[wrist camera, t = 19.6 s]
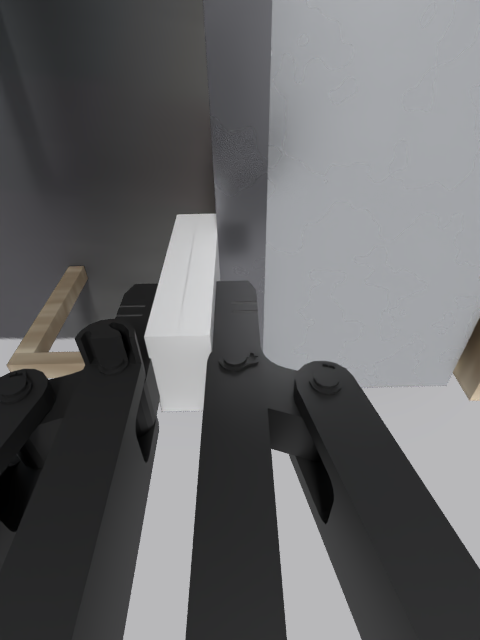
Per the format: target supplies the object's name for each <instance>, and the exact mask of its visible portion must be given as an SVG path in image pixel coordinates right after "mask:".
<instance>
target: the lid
mask: <svg viewBox="0 0 480 640" xmlns="http://www.w3.org/2000/svg"><path fill="white" fill-rule="evenodd" d="M203 8H204V24H205V41H206V57H207V73H208V89H209V106H210V122H211V138H212V154H213V171H214V187H215V203H216V219H217V234H218V251H219V267H220V281H249V282H250V283H251V284H252V285H253V287H254V288H255V289H256V295H257V307H258V319H259V332H260V344H261V349H262V352H263V353H264V355H265V356H266V357H267V358H268V359H269V360H270V361H271V362H273V363H275V364H277V365H279V366H282V367H285V368H289V369H293V370H297V371H298V370H299V369H300V368H301V367H302V366H303V365H305V364H307V363H310V362H313V361H329V362H334V363H337V364H339V365H341V366H342V367H344V368H346V369H347V370H348V371H349V372H350V373H351V374H352V375H353V376H354V378H355V379H356V381H357V383H358V384H359V386H360V387H361V388H373V387H417V386H418V387H419V386H446V385H447V383H448V381H449V379H450V377H451V375H452V373H453V371H454V369H455V367H456V365H457V363H458V361H459V359H460V357H461V355H462V353H463V351H464V349H465V347H466V345H467V342H468V340H469V338H470V336H471V334H472V332H473V330H474V328H475V326H476V324H477V322H478V320H479V318H480V0H203Z"/></svg>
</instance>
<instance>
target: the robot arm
mask: <svg viewBox="0 0 480 640" xmlns="http://www.w3.org/2000/svg"><path fill="white" fill-rule="evenodd" d="M75 341H76V343H77V346H78V348H79V351H80V353H81V356H82V358H83V361H84V363H85V366H84V369H83V370H81V371H78V372H75V373H72V374H69V375H65V376H61V377H58V378H54V379H50V380H48V378H47V377H46V376H45V374H44V373H43V372H42V371H39V370H36V369H21V370H17V371H13V372H10V373H8V374H6V375H4V376H2V377H0V640H123V635H124V630H125V623H126V618H127V612H128V606H129V601H130V595H131V589H132V583H133V577H134V572H135V566H136V560H137V554H138V548H139V543H140V537H141V531H142V525H143V519H144V514H145V508H146V502H147V497H148V491H149V485H150V479H151V473H152V468H153V462H154V456H155V450H156V444H157V439H158V433H159V423H158V419H157V410H158V404H159V402H160V406H161V410H162V412H181V411H203V420H202V433H201V446H200V459H199V472H198V485H197V497H196V510H195V524H194V536H193V549H192V562H191V576H190V588H189V602H188V615H187V627H186V640H287V637H286V624H285V613H284V600H283V588H282V576H281V564H280V552H279V540H278V528H277V517H276V505H275V492H274V480H273V469H272V455H271V449H274V450H278V451H281V452H284V453H288V454H289V456H290V459H291V461H292V464H293V466H294V468H295V471H296V474H297V476H298V479H299V481H300V484H301V486H302V489H303V492H304V494H305V496H306V499H307V502H308V504H309V507H310V509H311V512H312V514H313V517H314V519H315V522H316V524H317V527H318V530H319V532H320V534H321V537H322V540H323V542H324V545H325V547H326V550H327V552H328V555H329V557H330V560H331V563H332V565H333V568H334V570H335V573H336V575H337V578H338V580H339V582H340V585H341V588H342V590H343V593H344V595H345V598H346V601H347V603H348V606H349V608H350V611H351V613H352V616H353V618H354V621H355V623H356V626H357V628H358V631H359V633H360V636H361V639H362V640H480V569H479V567H478V566H477V564H476V563H475V561H474V560H473V558H472V557H471V555H470V554H469V552H468V551H467V549H466V548H465V546H464V544H463V543H462V542H461V540H460V539H459V537H458V535H457V534H456V532H455V531H454V529H453V528H452V526H451V525H450V523H449V522H448V520H447V518H446V517H445V516H444V514H443V512H442V511H441V509H440V508H439V506H438V505H437V503H436V502H435V500H434V499H433V497H432V496H431V494H430V493H429V491H428V490H427V488H426V487H425V485H424V483H423V482H422V480H421V479H420V477H419V476H418V474H417V473H416V471H415V470H414V468H413V467H412V465H411V464H410V462H409V460H408V459H407V457H406V456H405V454H404V453H403V451H402V450H401V448H400V447H399V445H398V444H397V442H396V441H395V439H394V438H393V436H392V434H391V433H390V431H389V430H388V428H387V427H386V425H385V424H384V422H383V421H382V420H381V418H380V416H379V415H378V413H377V412H376V410H375V409H374V407H373V405H372V404H371V402H370V401H369V400H368V398H367V396H366V395H365V393H364V392H363V390H362V389H361V387H360V386H359V384H358V383H357V381H356V379H355V378H354V376H353V375H352V374H351V373H350V372H349V371H348V370H347V369H346V368H344V367H342V366H341V365H339V364H337V363H334V362H329V361H313V362H310V363H307V364H305V365H303V366H302V367H301V368H300V369H299V370H298V371H297V370H293V369H289V368H285V367H282V366H279V365H277V364H275V363H273V362H271V361H270V360H269V359H268V358H267V357H266V356H265V355H264V353H263V352H262V349H261V344H260V332H259V319H258V307H257V295H256V289H255V288H254V287H253V285H252V284H251V283H250V282H249V281H220V267H219V251H218V234H217V219H216V214H178V215H177V217H176V221H175V224H174V228H173V232H172V235H171V239H170V243H169V247H168V250H167V254H166V258H165V261H164V265H163V269H162V272H161V276H160V280H159V283H158V284H135V285H134V286H133V287H131V288H130V289H129V290H128V291H127V292H126V293H125V294H124V297H123V299H122V302H121V305H120V308H119V310H118V313H117V317H116V318H115V319H108V320H101V321H98V322H95V323H93V324H90V325H88V326H87V327H86V328H84V329H83V330H81V331H80V332H79V334H78V335H77V336H76V338H75Z"/></svg>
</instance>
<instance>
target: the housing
mask: <svg viewBox="0 0 480 640" xmlns="http://www.w3.org/2000/svg"><path fill="white" fill-rule="evenodd" d="M87 279H88V277H87V274H86V271H85V268H84V266H69V267H68V269H67V270H66V272H65V274H64V275H63V277H62V278H61V280H60V281H59V283H58V285H57V286H56V288H55V289H54V291H53V292H52V294H51V296H50V297H49V299H48V300H47V302H46V304H45V305H44V307H43V308H42V310H41V311H40V313H39V315H38V316H37V318H36V319H35V321H34V322H33V324H32V326H31V327H30V329H29V330H28V332H27V334H26V335H25V337H24V338H23V340H22V341H21V343H20V345H19V346H18V348H17V349H16V351H15V353H14V354H13V356H12V357H11V359H10V360H9V362H8V364H7V367H8V368H9V370H10V372H13V371H17V370H21V369H36V370H39V371H42V372H43V373H44V374H45V376H46V377H47V378H58V377H61V376H65V375H69V374H72V373H75V372H78V371H81V370H83V369H84V366H85V363H84V361H83V358H82V356H81V353H80V352H49V350H50V348H51V346H52V344H53V342H54V341H55V339H56V337H57V335H58V333H59V331H60V330H61V328H62V326H63V324H64V322H65V320H66V318H67V317H68V315H69V313H70V311H71V309H72V307H73V305H74V303H75V302H76V300H77V298H78V296H79V294H80V292H81V290H82V289H83V287H84V285H85V283H86V281H87ZM453 374H454V376H455V377H456V379H457V380H458V382H459V384H460V386H461V387H462V389H463V391H464V392H465V394H466V395H467V397H468V399H469V400H470V401H480V318H479V320H478V322H477V324H476V326H475V328H474V330H473V332H472V334H471V336H470V338H469V340H468V342H467V345H466V347H465V349H464V351H463V353H462V355H461V357H460V359H459V361H458V363H457V365H456V367H455V369H454V371H453Z"/></svg>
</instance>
